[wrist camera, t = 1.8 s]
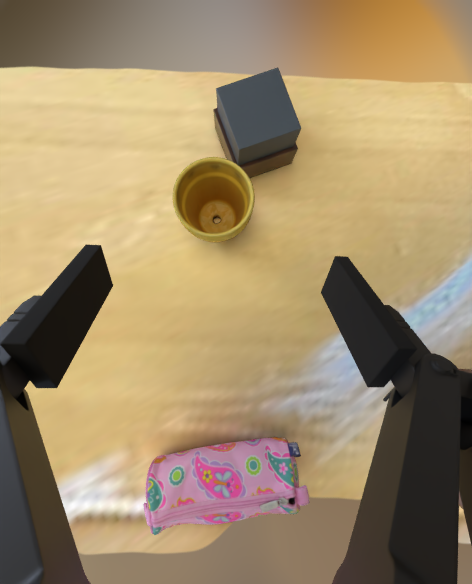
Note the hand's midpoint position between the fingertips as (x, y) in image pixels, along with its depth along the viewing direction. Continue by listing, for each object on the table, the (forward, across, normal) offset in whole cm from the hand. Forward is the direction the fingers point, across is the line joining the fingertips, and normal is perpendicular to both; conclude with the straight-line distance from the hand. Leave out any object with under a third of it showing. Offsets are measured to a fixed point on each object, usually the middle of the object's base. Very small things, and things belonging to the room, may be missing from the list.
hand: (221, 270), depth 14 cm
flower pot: (+27, 0, -9) cm, 28 cm away
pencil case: (+1, +2, -38) cm, 38 cm away
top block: (+32, +5, +4) cm, 33 cm away
